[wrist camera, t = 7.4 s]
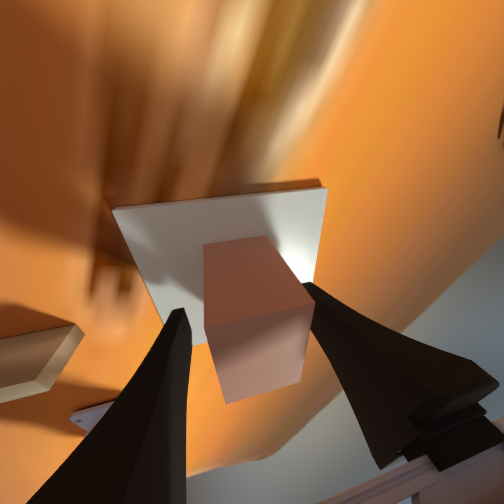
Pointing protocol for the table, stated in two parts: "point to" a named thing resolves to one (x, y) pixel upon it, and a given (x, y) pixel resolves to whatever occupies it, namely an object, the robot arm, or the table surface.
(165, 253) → the pad
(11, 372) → the frame
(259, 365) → the block
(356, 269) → the table surface
